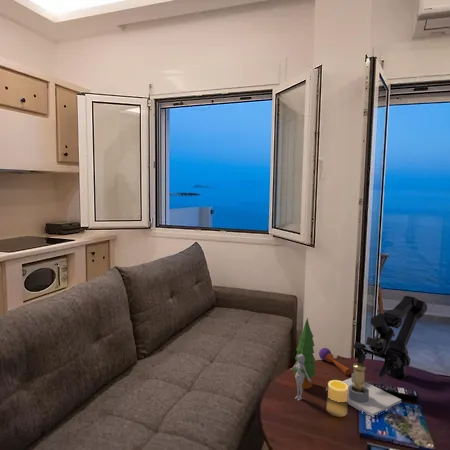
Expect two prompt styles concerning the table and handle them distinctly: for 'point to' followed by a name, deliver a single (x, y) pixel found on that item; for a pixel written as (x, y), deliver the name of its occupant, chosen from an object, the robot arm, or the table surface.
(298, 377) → the human figurine
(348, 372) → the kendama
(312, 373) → the decorative tree
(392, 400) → the socket plate
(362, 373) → the disc
